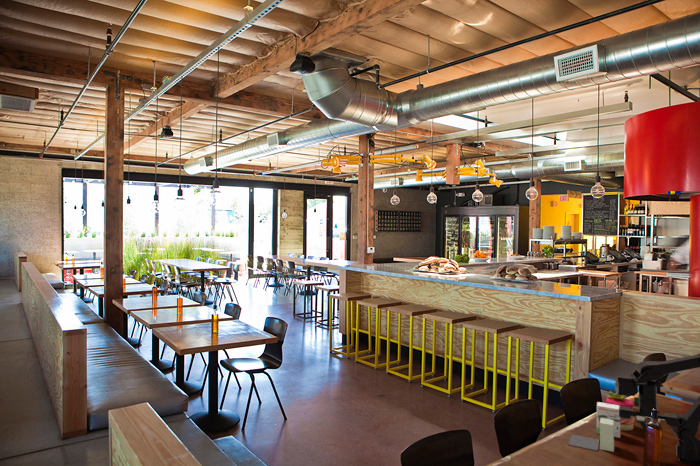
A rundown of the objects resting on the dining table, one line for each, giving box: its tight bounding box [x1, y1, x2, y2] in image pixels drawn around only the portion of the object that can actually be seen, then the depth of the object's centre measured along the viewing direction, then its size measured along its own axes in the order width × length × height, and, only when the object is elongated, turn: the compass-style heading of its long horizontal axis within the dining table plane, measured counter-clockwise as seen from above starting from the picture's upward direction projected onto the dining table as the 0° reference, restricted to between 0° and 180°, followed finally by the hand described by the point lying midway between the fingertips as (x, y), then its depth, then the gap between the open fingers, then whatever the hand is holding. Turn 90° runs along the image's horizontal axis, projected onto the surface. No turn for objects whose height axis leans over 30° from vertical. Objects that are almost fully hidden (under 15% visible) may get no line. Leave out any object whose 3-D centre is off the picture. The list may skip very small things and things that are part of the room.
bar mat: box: [568, 434, 600, 452], centre depth 181 cm, size 10×11×1 cm
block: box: [599, 418, 615, 453], centre depth 177 cm, size 4×6×10 cm
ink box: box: [596, 401, 621, 438], centre depth 190 cm, size 9×5×12 cm, turn 61°
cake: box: [605, 391, 635, 431], centre depth 198 cm, size 10×11×15 cm
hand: (648, 439), depth 170 cm, fingers closed
